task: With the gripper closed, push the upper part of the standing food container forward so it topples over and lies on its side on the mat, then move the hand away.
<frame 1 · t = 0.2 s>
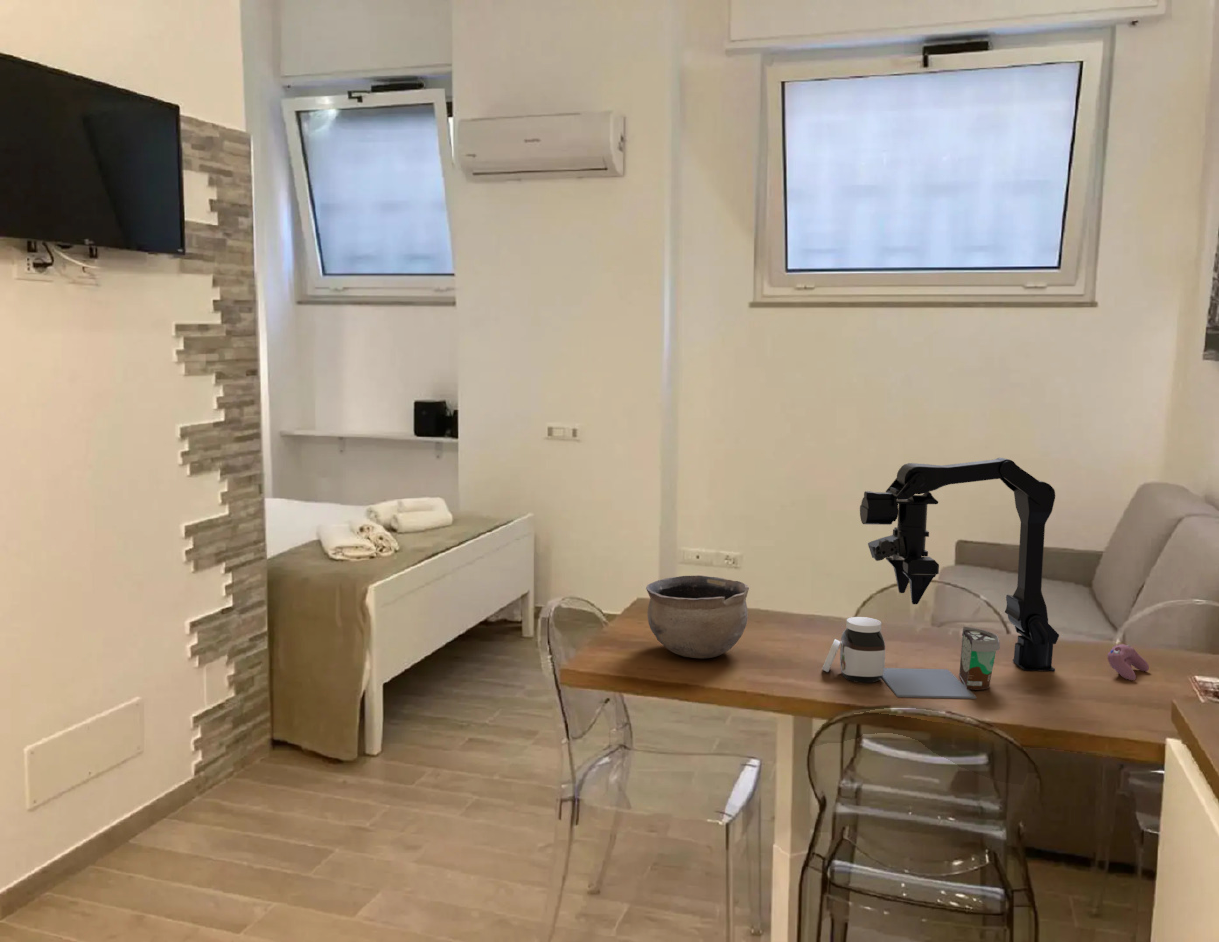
hand: (908, 598, 203), 14 cm above the table, fingers open, 9 cm apart
food container: (978, 684, 194), on the table, touching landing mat
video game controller: (1126, 674, 202), on the table
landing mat: (923, 683, 194), on the table
spread jar: (850, 676, 198), on the table
ceramic bowl: (695, 653, 210), on the table
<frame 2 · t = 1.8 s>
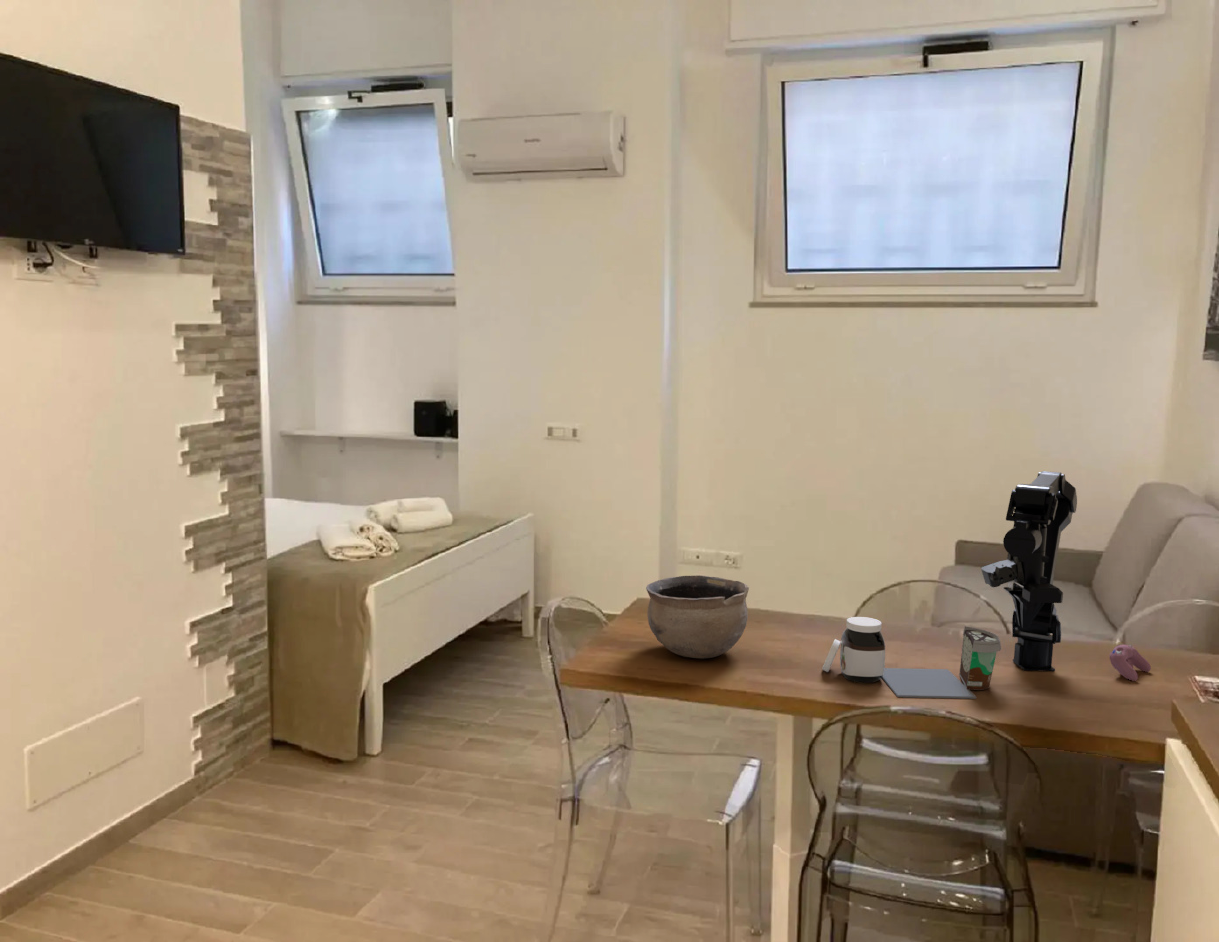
hand: (1023, 626, 192), 12 cm above the table, fingers closed
nothing on the table moved.
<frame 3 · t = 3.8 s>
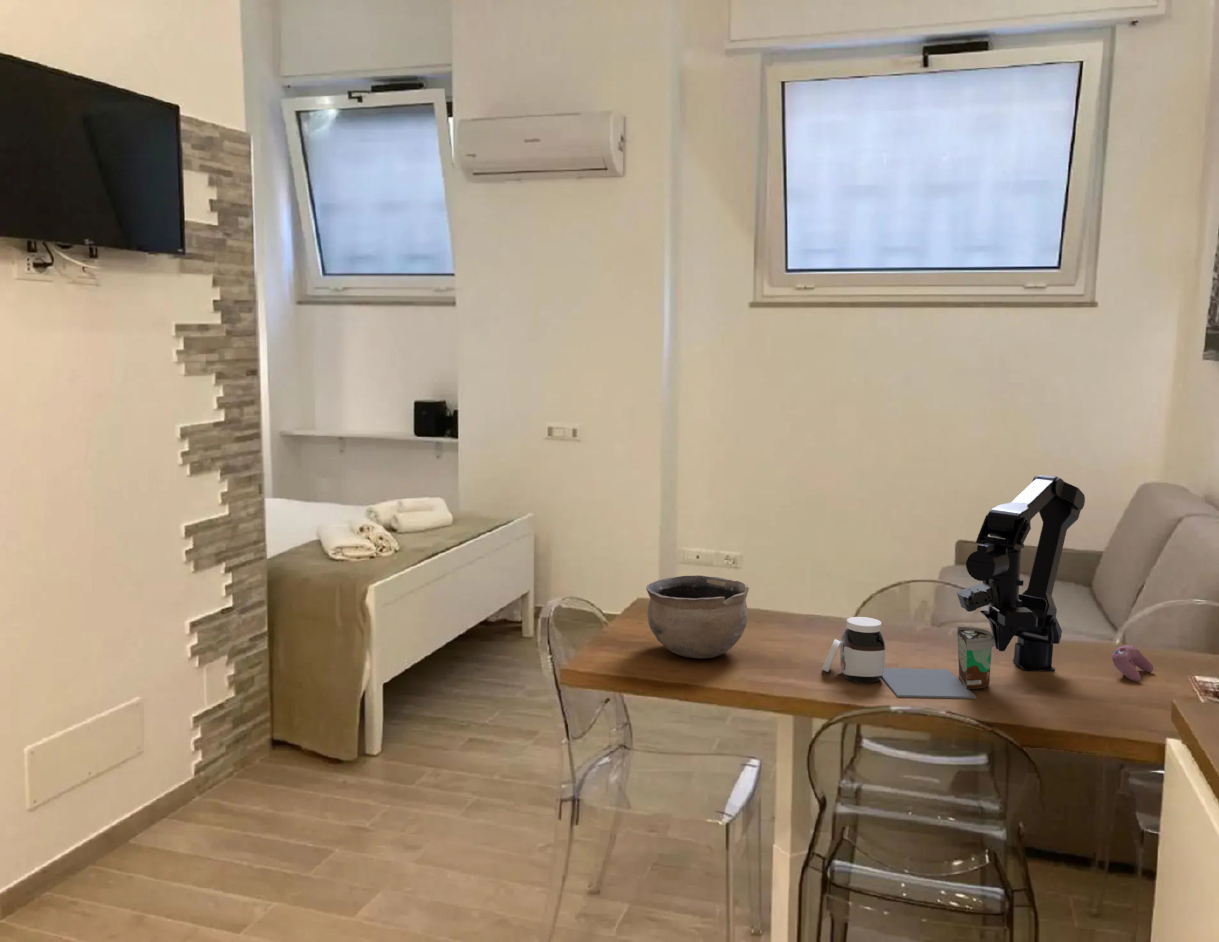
hand: (1000, 650, 193), 7 cm above the table, fingers closed
food container: (978, 683, 194), on the table, touching gripper, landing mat
everything else where it was.
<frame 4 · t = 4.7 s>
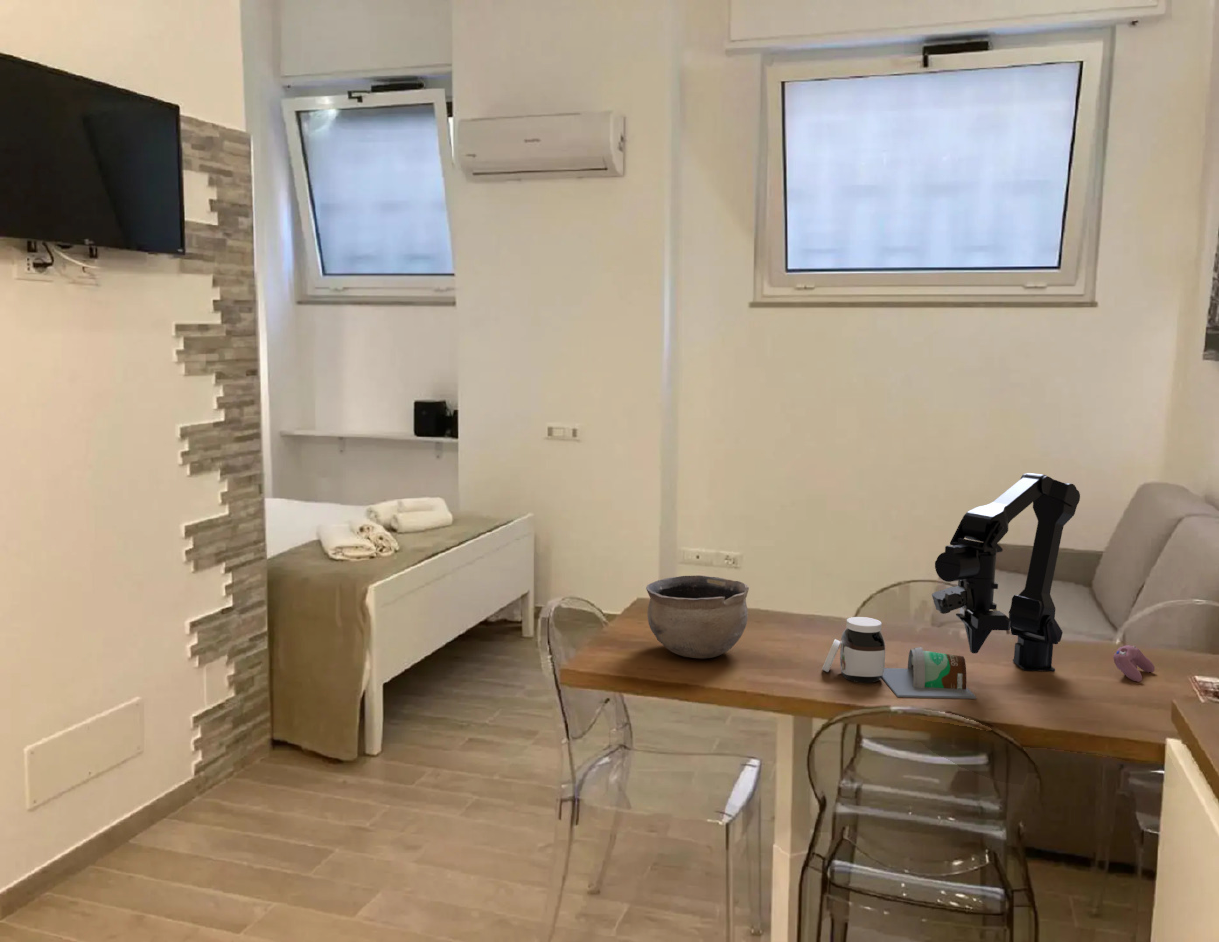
hand: (973, 652, 193), 7 cm above the table, fingers closed
food container: (964, 666, 194), point 3 cm above the table, touching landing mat
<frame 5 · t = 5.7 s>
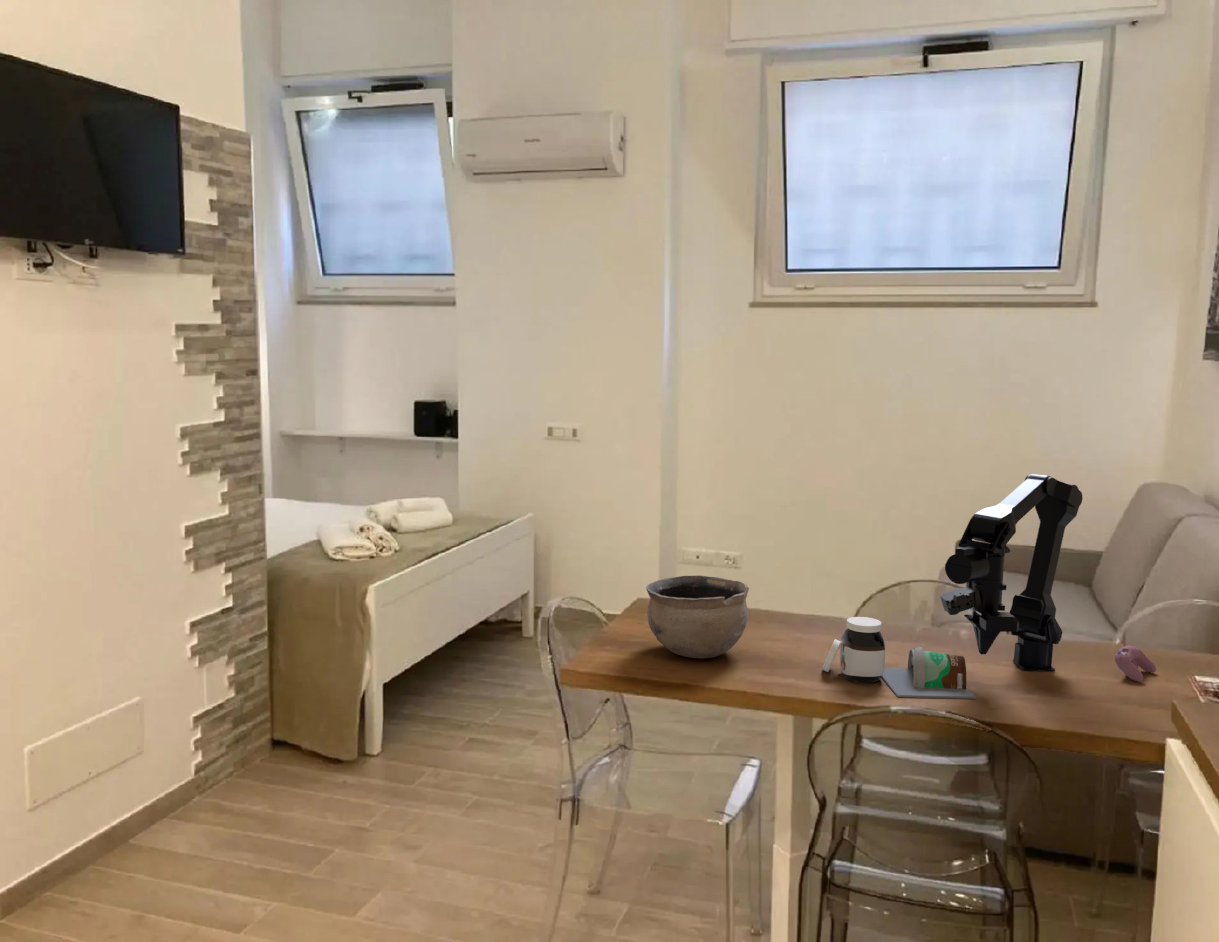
hand: (982, 653, 193), 6 cm above the table, fingers closed
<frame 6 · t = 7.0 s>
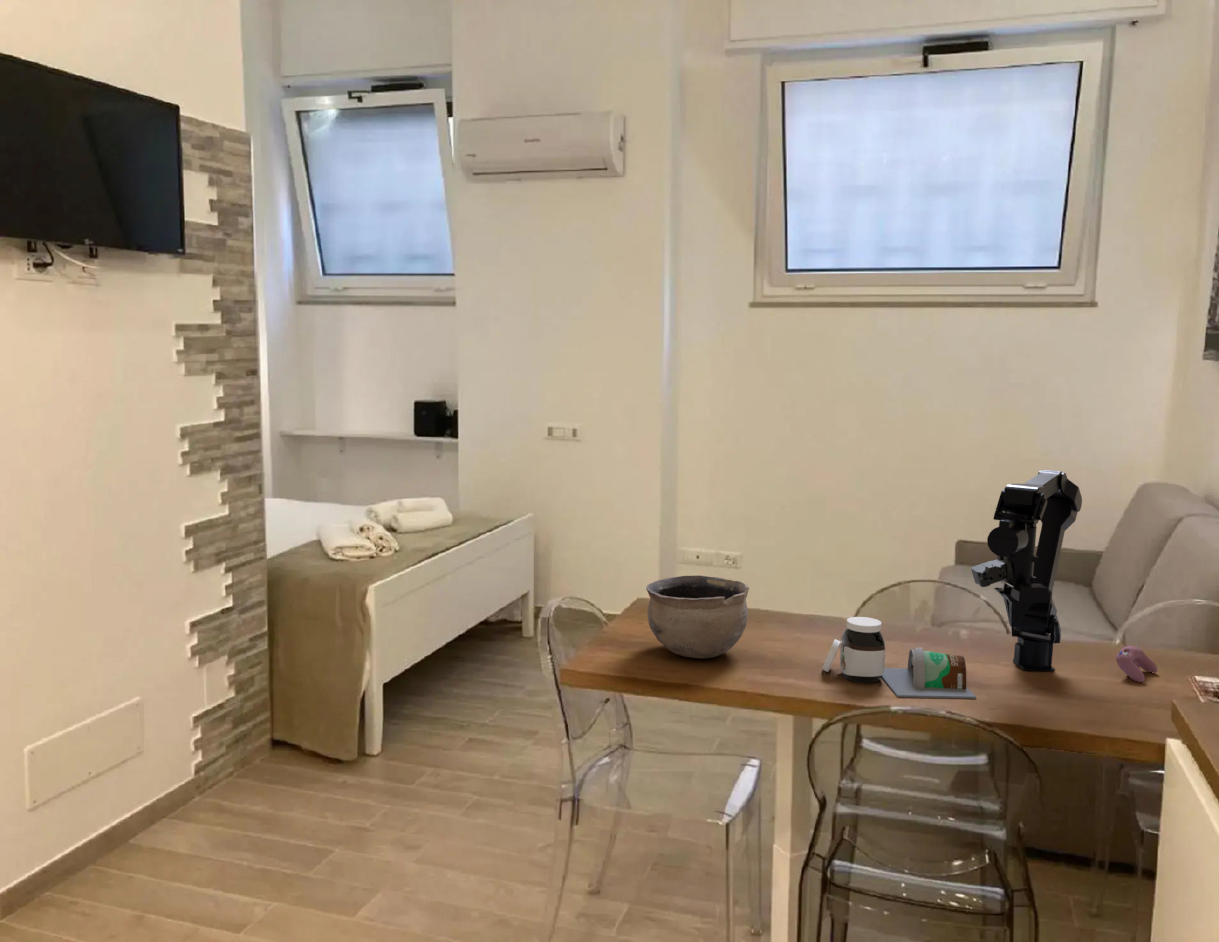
hand: (1013, 626, 192), 12 cm above the table, fingers closed
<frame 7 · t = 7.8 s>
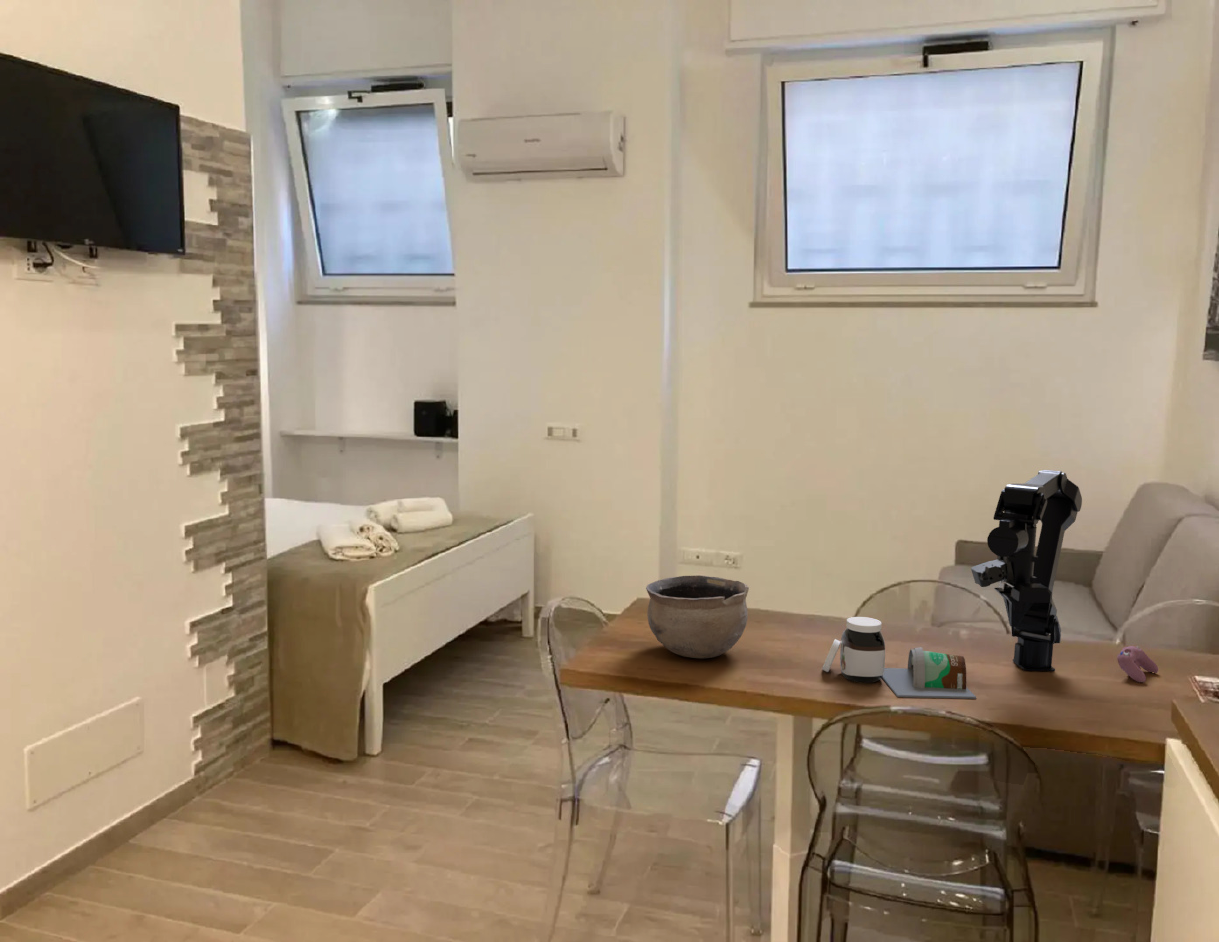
hand: (1013, 626, 192), 12 cm above the table, fingers closed
at the end: food container tilted 90°; food container inside the target area (5.1 cm from its centre), point 3.5 cm above the table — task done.
